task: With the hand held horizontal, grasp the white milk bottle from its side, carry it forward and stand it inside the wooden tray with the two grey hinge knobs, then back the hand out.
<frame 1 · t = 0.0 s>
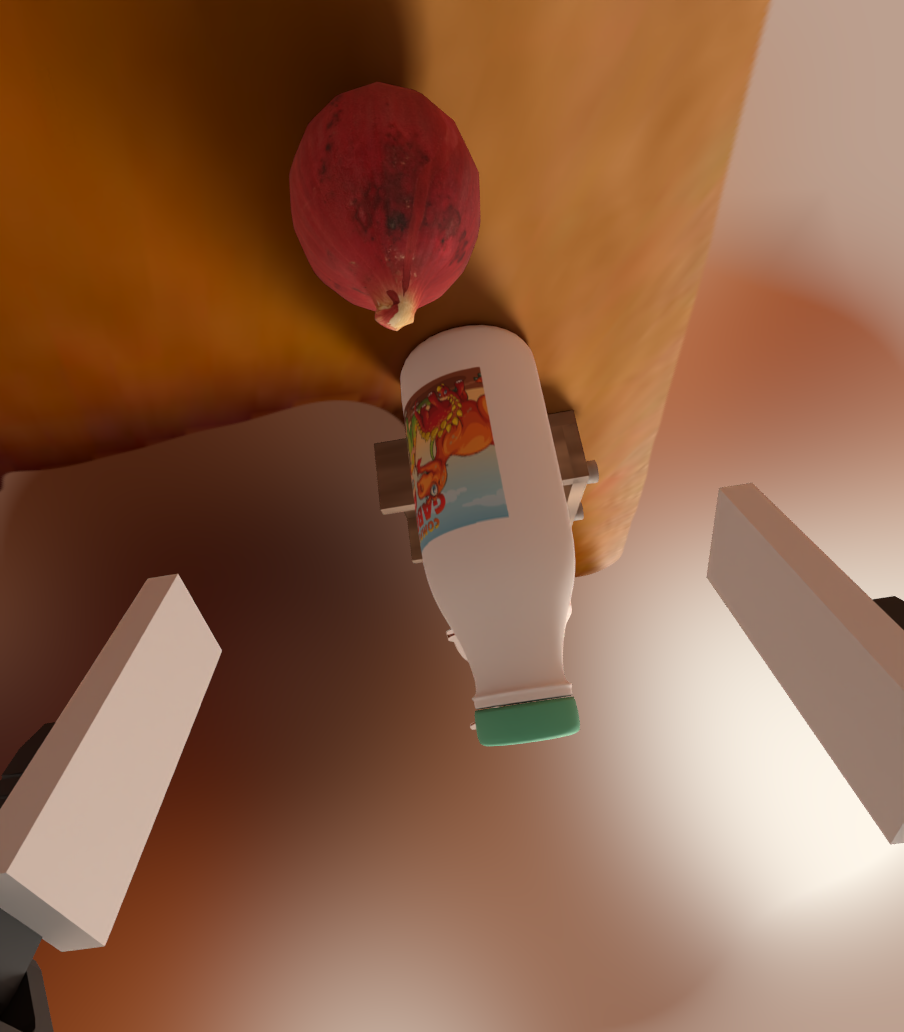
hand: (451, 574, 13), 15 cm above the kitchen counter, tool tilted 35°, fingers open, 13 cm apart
milk bottle: (465, 363, 31), on the kitchen counter
onion: (376, 121, 18), on the kitchen counter
wooden tray: (477, 469, 44), on the kitchen counter
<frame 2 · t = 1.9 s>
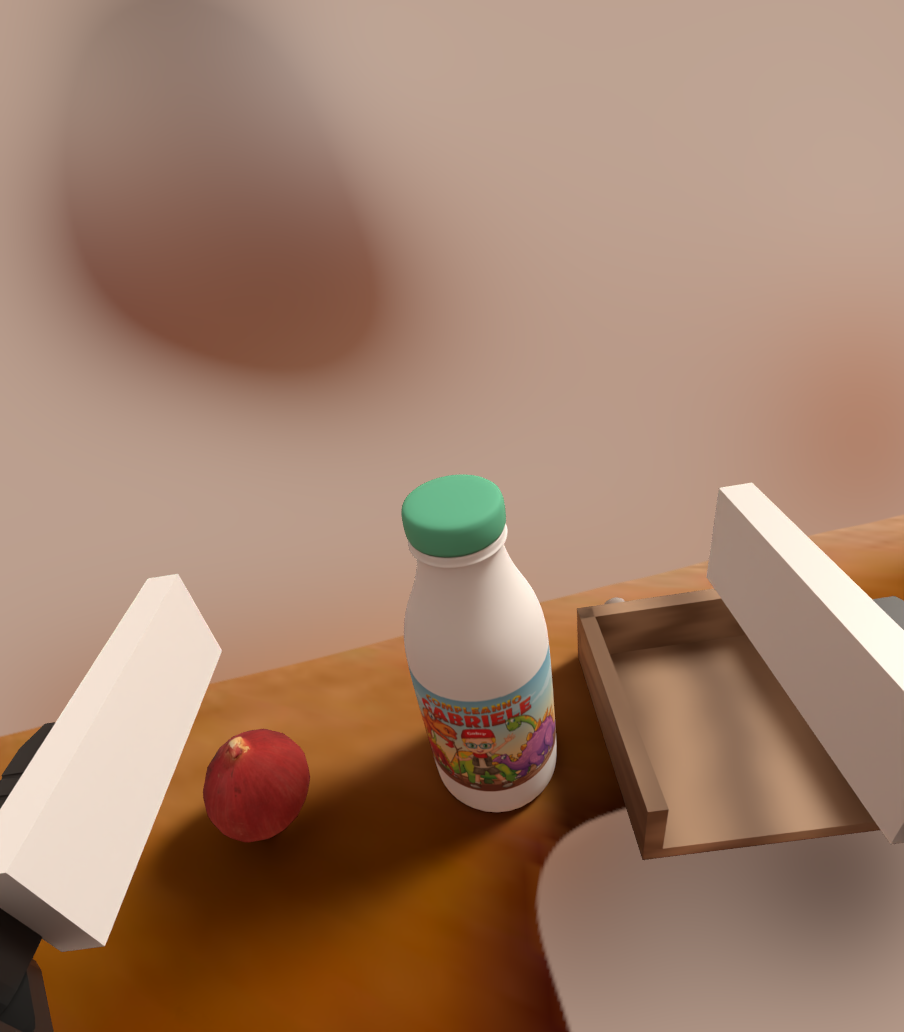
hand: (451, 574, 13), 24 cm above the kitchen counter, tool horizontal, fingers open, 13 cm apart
milk bottle: (497, 757, 35), on the kitchen counter
onion: (279, 817, 34), on the kitchen counter
wooden tray: (715, 726, 34), on the kitchen counter
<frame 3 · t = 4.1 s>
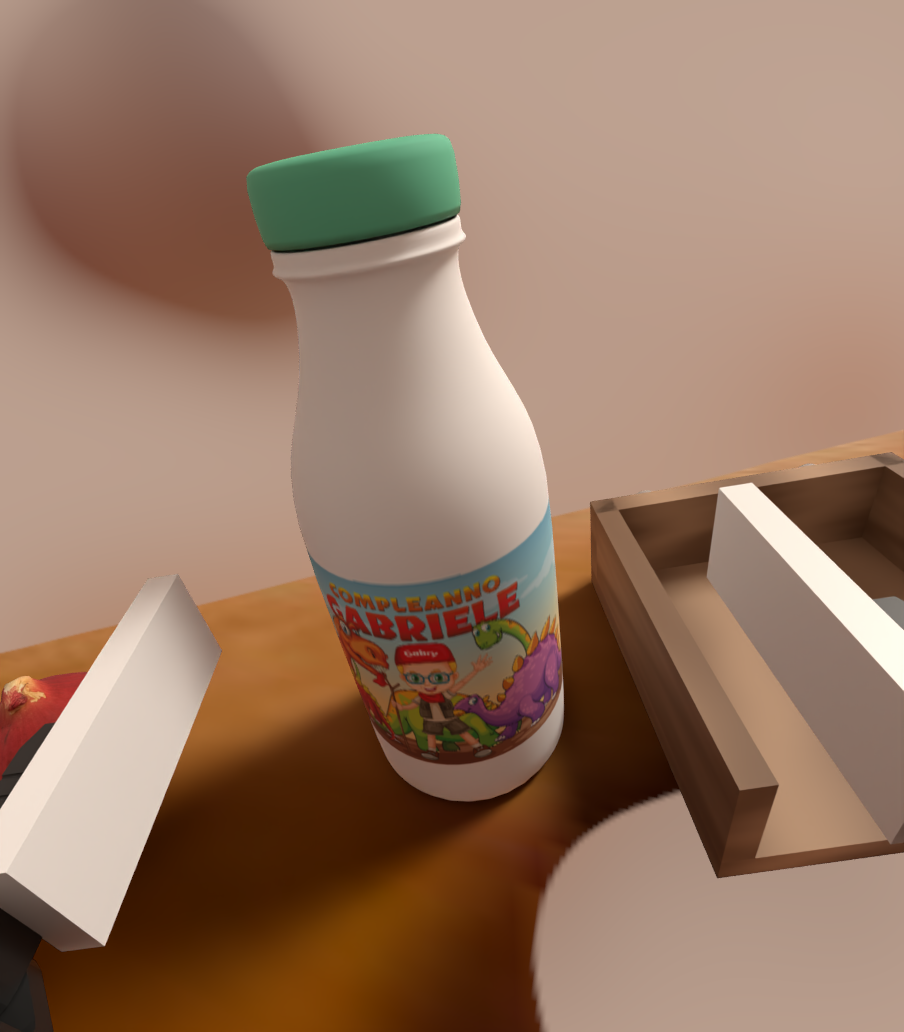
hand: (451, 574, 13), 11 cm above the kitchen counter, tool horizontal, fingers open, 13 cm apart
milk bottle: (472, 719, 23), on the kitchen counter
onion: (131, 815, 22), on the kitchen counter
wooden tray: (808, 665, 22), on the kitchen counter
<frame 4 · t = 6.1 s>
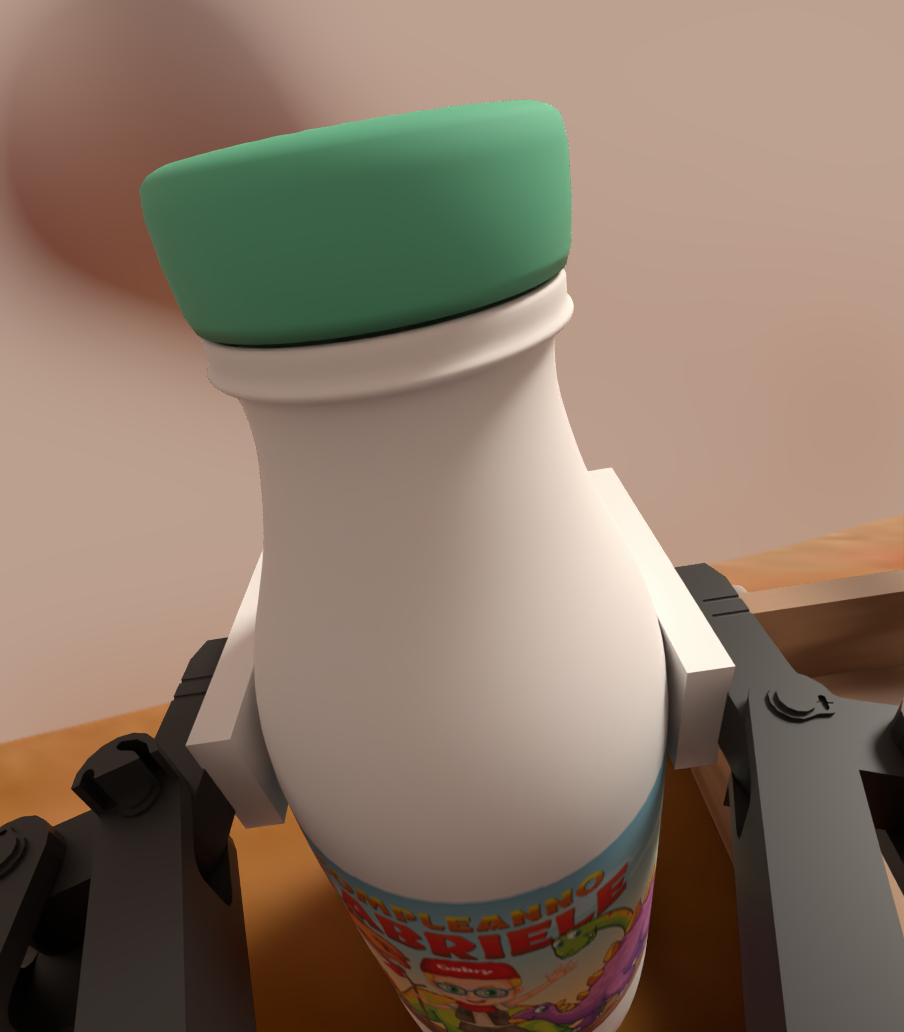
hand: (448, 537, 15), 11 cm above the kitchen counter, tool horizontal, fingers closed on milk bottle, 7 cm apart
milk bottle: (513, 914, 17), on the kitchen counter, touching gripper
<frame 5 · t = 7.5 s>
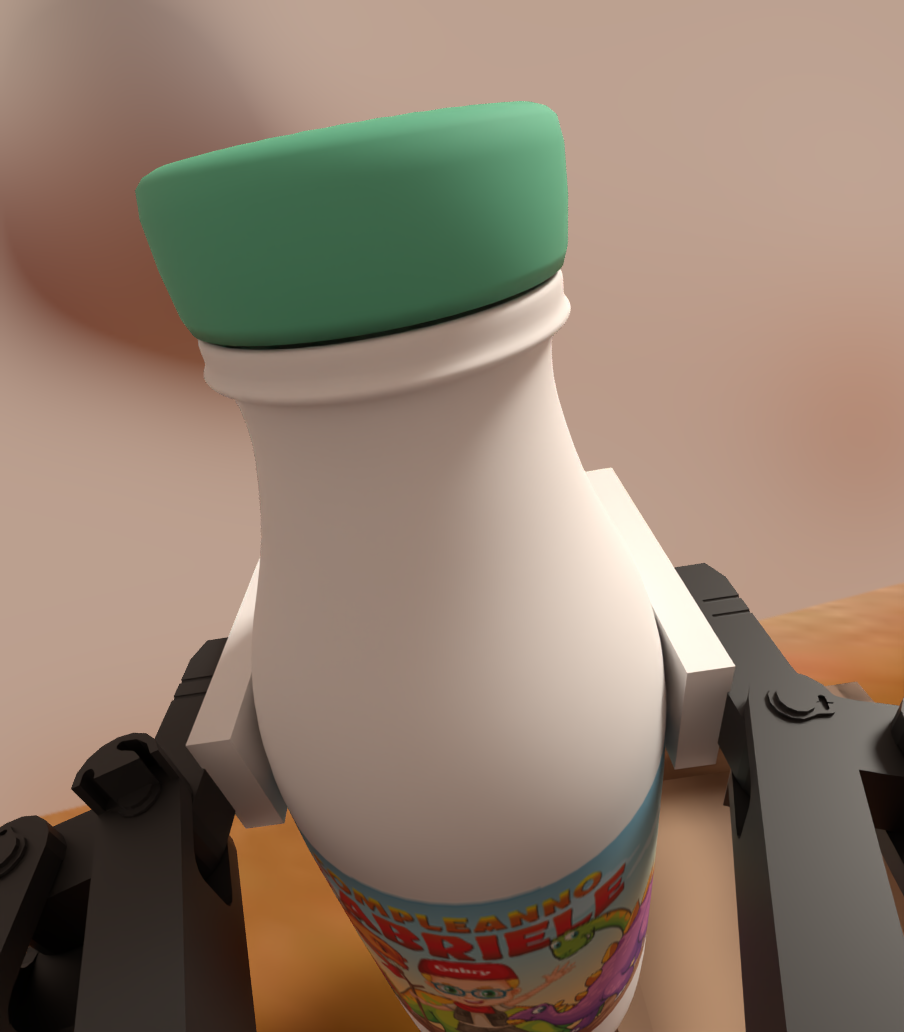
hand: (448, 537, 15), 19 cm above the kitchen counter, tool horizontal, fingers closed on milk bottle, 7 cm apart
milk bottle: (512, 915, 17), point 7 cm above the kitchen counter, touching gripper
wooden tray: (765, 933, 21), on the kitchen counter
when the fingers open (13 cm above the kitchen counter, at t = 9.3 s): milk bottle drops 1 cm, resting on wooden tray.
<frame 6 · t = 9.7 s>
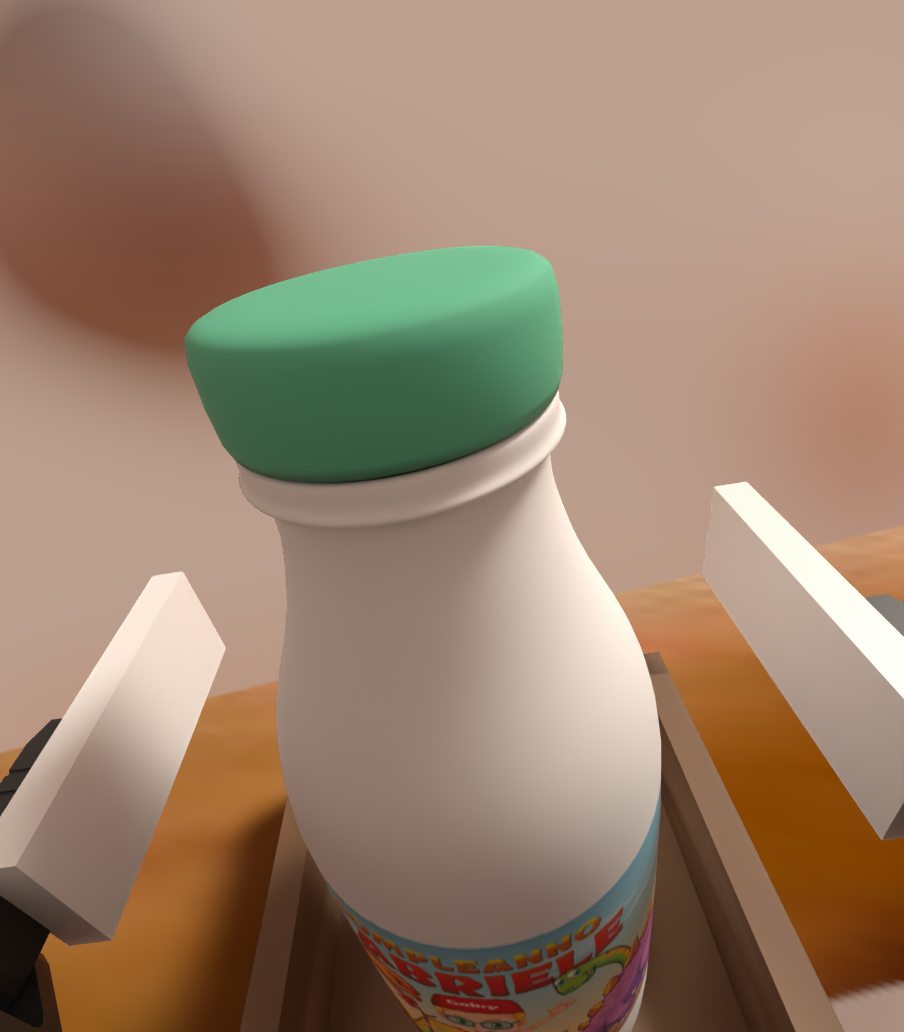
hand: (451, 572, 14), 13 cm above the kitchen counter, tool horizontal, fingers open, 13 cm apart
milk bottle: (520, 938, 18), point 1 cm above the kitchen counter, touching wooden tray
wooden tray: (519, 942, 18), on the kitchen counter
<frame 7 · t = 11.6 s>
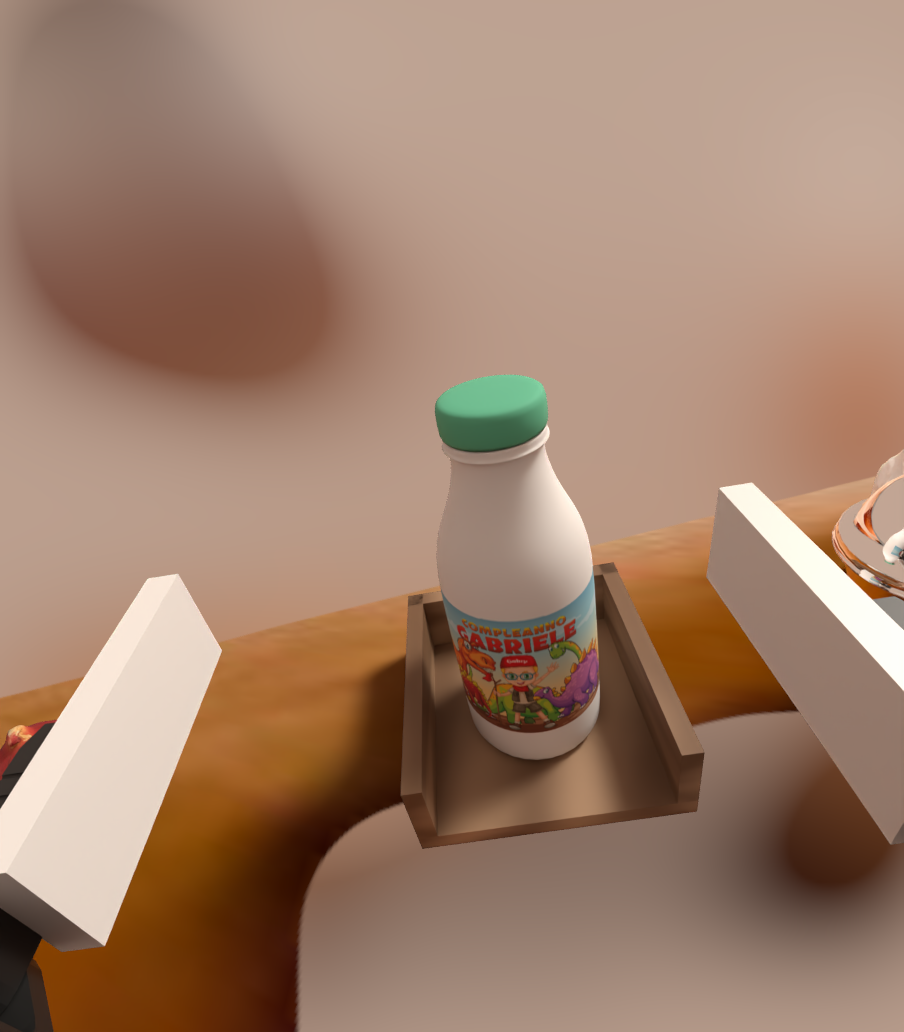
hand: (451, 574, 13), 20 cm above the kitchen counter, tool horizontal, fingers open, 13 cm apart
milk bottle: (534, 707, 33), point 1 cm above the kitchen counter, touching wooden tray
cup with straw: (891, 693, 31), on the kitchen counter
roll: (897, 585, 37), on the kitchen counter
onion: (91, 810, 34), on the kitchen counter
wooden tray: (534, 713, 33), on the kitchen counter
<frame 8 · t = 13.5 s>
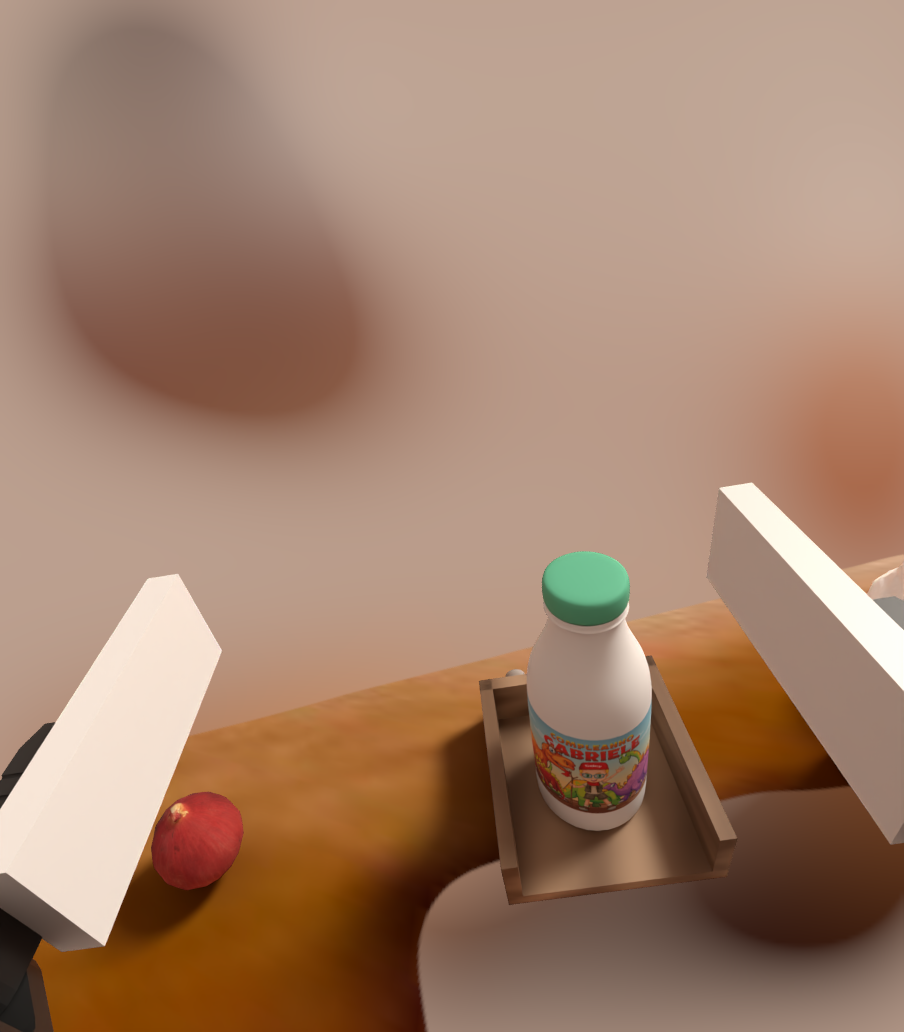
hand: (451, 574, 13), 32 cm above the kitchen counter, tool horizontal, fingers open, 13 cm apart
milk bottle: (589, 781, 40), point 1 cm above the kitchen counter, touching wooden tray
roll: (883, 673, 45), on the kitchen counter
onion: (220, 864, 40), on the kitchen counter
wooden tray: (588, 785, 41), on the kitchen counter
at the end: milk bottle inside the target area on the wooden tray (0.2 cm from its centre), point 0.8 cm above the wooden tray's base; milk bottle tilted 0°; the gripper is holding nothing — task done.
